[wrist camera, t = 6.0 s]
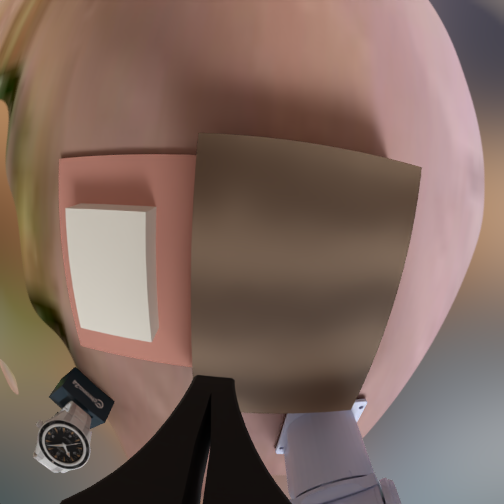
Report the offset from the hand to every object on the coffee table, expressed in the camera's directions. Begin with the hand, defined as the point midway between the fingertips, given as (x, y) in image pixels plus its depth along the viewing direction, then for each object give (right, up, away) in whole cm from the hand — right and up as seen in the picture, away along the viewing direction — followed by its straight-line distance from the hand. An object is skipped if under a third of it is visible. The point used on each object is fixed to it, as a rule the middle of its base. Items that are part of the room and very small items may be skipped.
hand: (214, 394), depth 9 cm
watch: (-16, -10, +14) cm, 24 cm away
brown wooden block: (+4, +3, +10) cm, 11 cm away
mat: (-8, +4, +9) cm, 13 cm away
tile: (-8, +3, +7) cm, 11 cm away
